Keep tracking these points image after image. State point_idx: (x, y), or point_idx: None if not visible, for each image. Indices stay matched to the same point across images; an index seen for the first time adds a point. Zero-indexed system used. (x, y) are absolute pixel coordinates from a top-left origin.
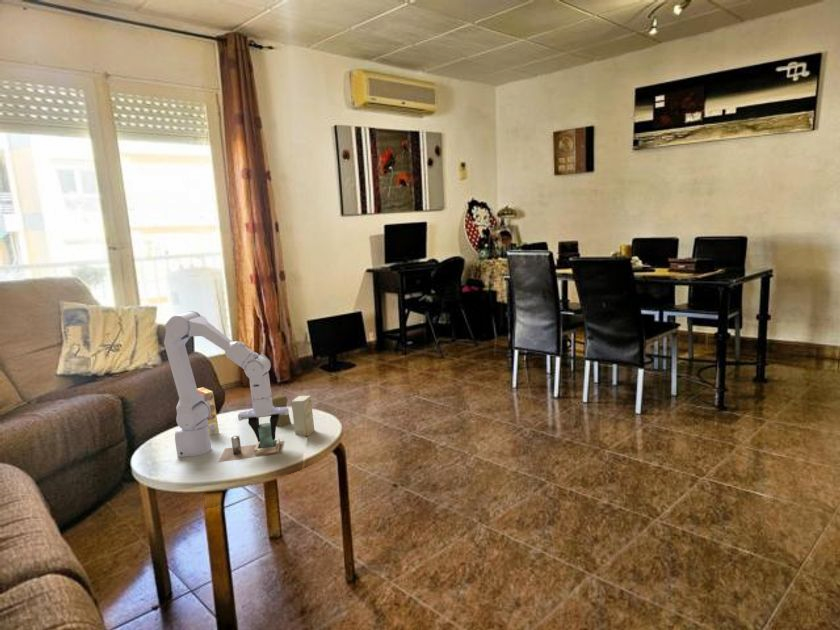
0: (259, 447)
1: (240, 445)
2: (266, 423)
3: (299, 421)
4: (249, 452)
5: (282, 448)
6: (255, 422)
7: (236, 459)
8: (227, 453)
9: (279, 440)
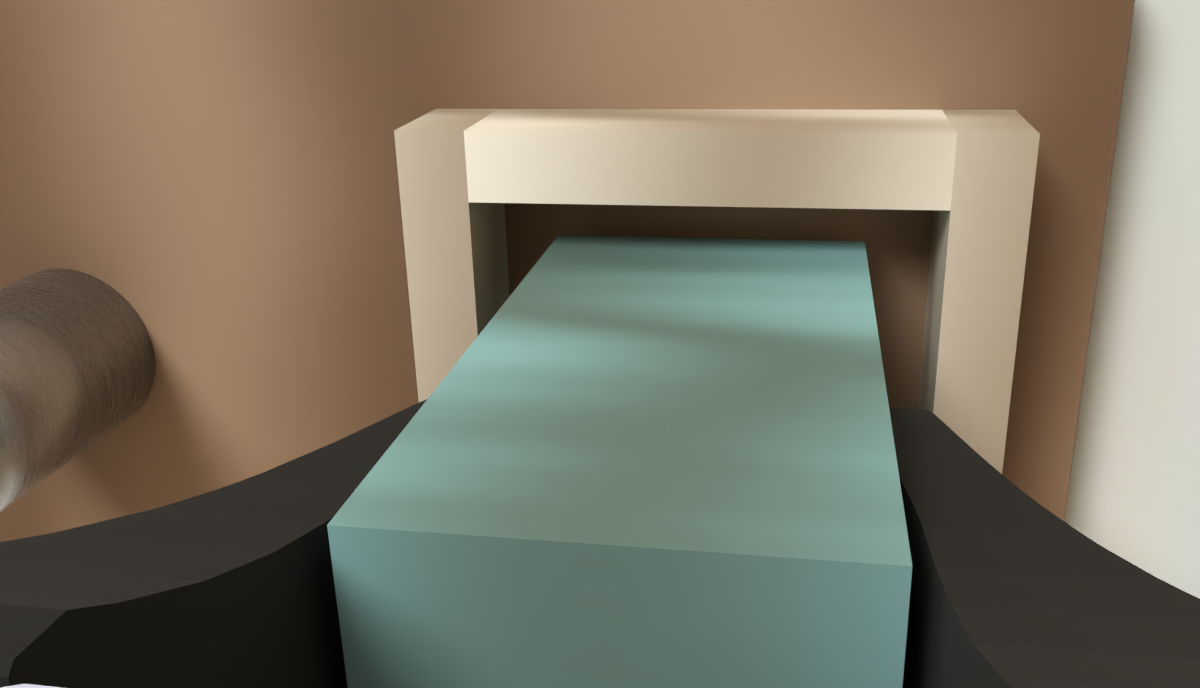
0: (501, 293)
1: (55, 425)
2: (646, 592)
3: None
4: (327, 422)
5: (1064, 474)
6: None
7: None
8: None
9: (1025, 243)
